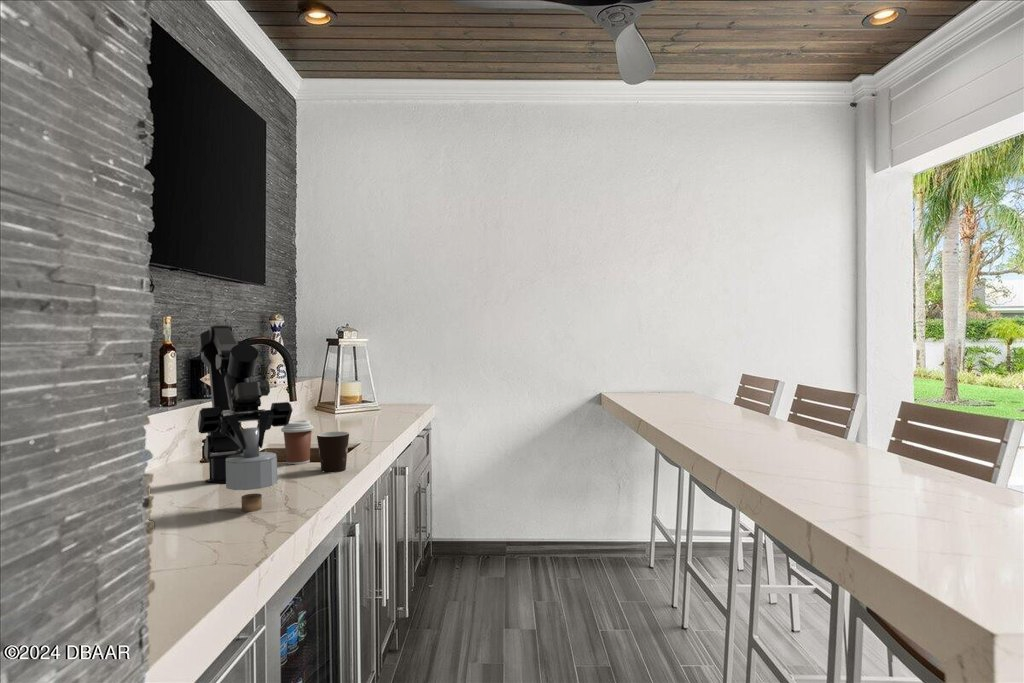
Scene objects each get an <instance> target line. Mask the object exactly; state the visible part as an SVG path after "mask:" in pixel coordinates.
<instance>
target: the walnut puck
mask: <svg viewBox="0 0 1024 683" xmlns="http://www.w3.org/2000/svg"><path fill="white" fill-rule="evenodd" d="M262 498H263V496H262V494H261V493H247V494H244V495H241V500H240V501H241V511H242V513H243V512H244V513H254V512H258V511H261V510H262V509H263V506H262V505H263V501H262Z"/></svg>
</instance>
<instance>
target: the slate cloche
mask: <svg viewBox="0 0 1024 683" xmlns="http://www.w3.org/2000/svg"><path fill="white" fill-rule="evenodd" d="M242 434H243V439H244V444H245V449H244V450H243V453H242V454H236V455H232V456H229V457H227V458H226V483H225V487H226V489H227V490H232V491H251V490H259V489H264V488H268V487H272V486H274V485H276V484H277V483H278V456H277V453H275V452H271V451H270V452H269V451H260V447H259V428H257V427H245V428H242Z"/></svg>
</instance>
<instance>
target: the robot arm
mask: <svg viewBox="0 0 1024 683" xmlns="http://www.w3.org/2000/svg"><path fill="white" fill-rule="evenodd" d="M197 351H198V353H199V354H200V357H201V358H200V360H201V362H203V364H204V365H205V366H206V367H207V368H208V372H209V373H208V375H209V384H210V385H209V387H210V396H211V397H210V398H211V407H202V408H200V410H199V413H198V418H197V429H198V433H200V434H207V435H206V436H205V441H204V447H203V448H204V449H203V452H204V456H203V457H204V458H205V459H206V460H208V462H209V463H208V464H209V478H208V479H205V480H204V482H205V483H217V484H219V483H222V484H226V458H227V457H229V456H232V455H236V454H242V453H243V450H244V449H245V444H244V439H243V431H242V430H241V427H240V423H244V422H247V423H248V422H257V426H256V428H259V449H262V448H263V446H264V439H265V433H266V431H269V430H270V429H272V427H283V426H286V425H287V424H289V421H291V420H290V419H291V416H292V412H293V407H292V404H291V403H290V402H288V401H284V402H283V401H282V402H281V401H280V402H272V403H271V405H270V406H271V407H270V409H265V408H264V409H260V407H261V406H262V402H261V398H262V397H267V396H269V395H270V392H271V387H270V384H269V380H268V379H261V380H259V381H253V379H252V377H254V376H255V373H256V368H257V364H258V362H259V360H258V358H259V353H260V352H259V350H258V349H257V348H256V347H254V346H253V345H252V344H248V342H247V340H236V338H235V333H234V332H233V328H232V326H231V325H230V326H229V325H226V324H222V325H221V324H218V325H217V324H214V325H210V326H209V328H208V329H207V330H205V331H204V332H202V333H200V334H199V337H198V340H197Z"/></svg>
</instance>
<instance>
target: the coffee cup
mask: <svg viewBox="0 0 1024 683" xmlns="http://www.w3.org/2000/svg"><path fill="white" fill-rule="evenodd" d="M314 429H315V427H314V425H312V424H311V421H310V420H306V419H305V420H304V419H299V420H297V419H295V420H289V424H287V425H286V426H282V427H281V428H280V431H281V432H282V433H283V440H284V448H285V458H286V464H287V465H290V464H298V465H305V464H309V463H310V462H311V460H310V459H311V446H312V445H311V442H312V431H314Z"/></svg>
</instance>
